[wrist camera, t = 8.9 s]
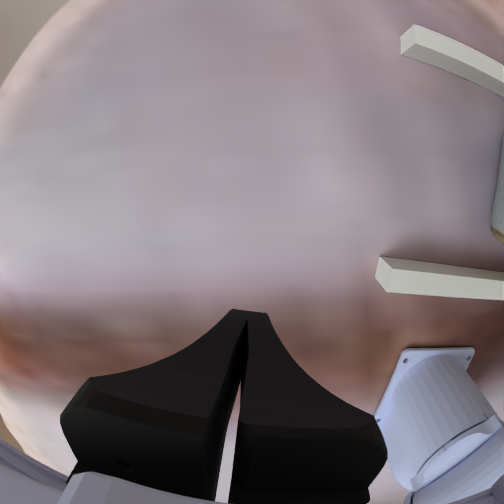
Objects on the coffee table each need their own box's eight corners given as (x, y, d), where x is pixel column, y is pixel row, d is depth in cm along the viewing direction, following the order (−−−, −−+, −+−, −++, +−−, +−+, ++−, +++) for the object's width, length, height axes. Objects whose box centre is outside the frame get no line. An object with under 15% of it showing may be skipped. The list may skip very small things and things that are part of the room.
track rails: (531, 291, 19) (546, 302, 17) (374, 277, 20) (386, 291, 17) (556, 115, 14) (573, 115, 12) (400, 36, 15) (414, 24, 12)
